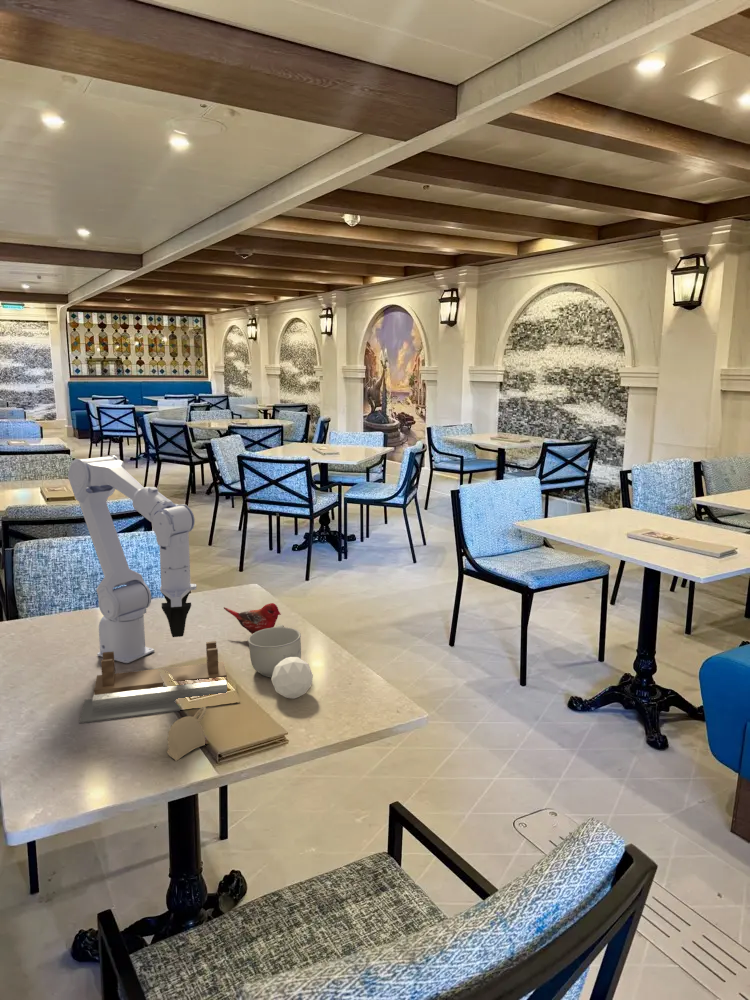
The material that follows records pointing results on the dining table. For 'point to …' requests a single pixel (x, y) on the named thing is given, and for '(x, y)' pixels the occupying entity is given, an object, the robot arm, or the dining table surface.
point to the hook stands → (155, 674)
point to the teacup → (273, 647)
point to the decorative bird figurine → (257, 618)
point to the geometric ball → (292, 677)
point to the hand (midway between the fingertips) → (177, 629)
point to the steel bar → (156, 695)
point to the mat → (124, 711)
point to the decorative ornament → (186, 735)
